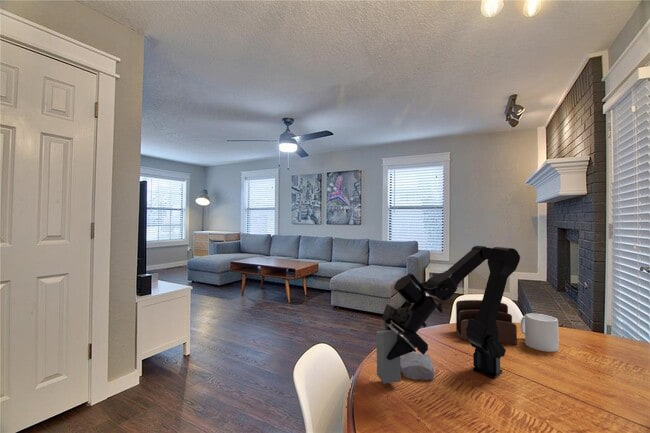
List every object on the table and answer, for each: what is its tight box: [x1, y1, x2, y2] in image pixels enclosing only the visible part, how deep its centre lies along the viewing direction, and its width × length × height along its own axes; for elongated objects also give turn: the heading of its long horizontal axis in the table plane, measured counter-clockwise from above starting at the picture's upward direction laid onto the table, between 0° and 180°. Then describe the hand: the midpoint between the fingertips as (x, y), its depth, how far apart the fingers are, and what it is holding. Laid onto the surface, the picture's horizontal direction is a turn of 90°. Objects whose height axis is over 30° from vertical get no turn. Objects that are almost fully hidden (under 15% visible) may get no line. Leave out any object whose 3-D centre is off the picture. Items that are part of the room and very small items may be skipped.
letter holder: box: [455, 299, 518, 345], centre depth 117 cm, size 10×20×14 cm, turn 76°
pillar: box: [376, 330, 402, 385], centre depth 83 cm, size 5×5×12 cm
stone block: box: [400, 351, 435, 381], centre depth 91 cm, size 12×5×10 cm
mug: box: [520, 312, 560, 353], centre depth 111 cm, size 14×10×11 cm
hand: (383, 354), depth 83 cm, fingers closed on pillar, 5 cm apart
